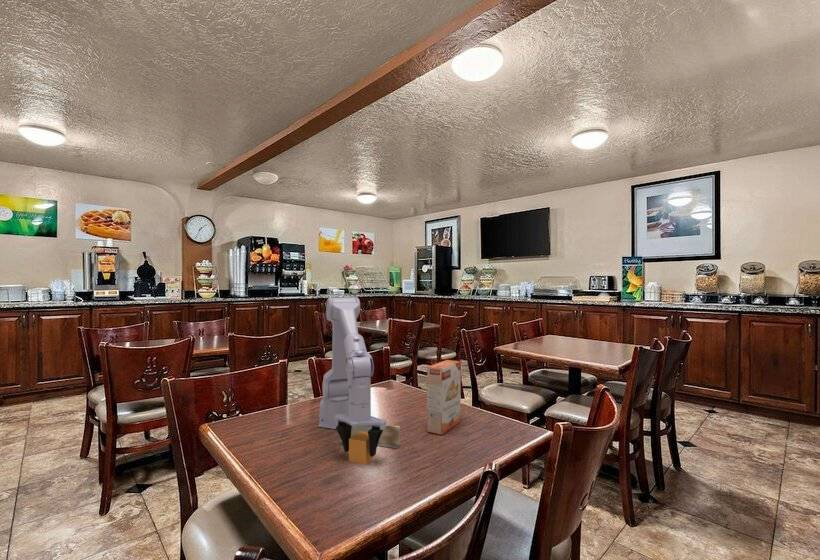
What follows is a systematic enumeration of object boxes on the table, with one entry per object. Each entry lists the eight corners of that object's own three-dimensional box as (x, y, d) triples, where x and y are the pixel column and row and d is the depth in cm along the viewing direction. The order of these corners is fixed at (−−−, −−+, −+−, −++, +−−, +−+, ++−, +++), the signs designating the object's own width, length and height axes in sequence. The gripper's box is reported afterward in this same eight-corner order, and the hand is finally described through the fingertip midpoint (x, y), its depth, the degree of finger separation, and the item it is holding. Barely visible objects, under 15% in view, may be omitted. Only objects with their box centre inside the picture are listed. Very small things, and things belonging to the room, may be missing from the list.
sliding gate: (339, 442, 112) (339, 426, 112) (346, 437, 116) (346, 421, 116) (365, 446, 109) (365, 429, 109) (371, 440, 113) (371, 424, 113)
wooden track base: (339, 440, 115) (339, 421, 115) (344, 436, 118) (344, 418, 118) (396, 449, 109) (396, 429, 109) (400, 445, 111) (400, 426, 112)
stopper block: (349, 461, 101) (349, 438, 102) (359, 452, 107) (359, 430, 107) (365, 464, 100) (365, 441, 100) (375, 454, 105) (375, 433, 105)
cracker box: (443, 436, 118) (442, 368, 118) (426, 432, 121) (425, 366, 121) (461, 422, 130) (461, 360, 130) (445, 419, 133) (445, 359, 133)
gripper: (328, 403, 101) (328, 454, 101) (378, 409, 96) (378, 463, 96) (342, 395, 108) (342, 444, 107) (389, 401, 103) (389, 452, 102)
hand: (360, 452), depth 102 cm, fingers open, 7 cm apart
